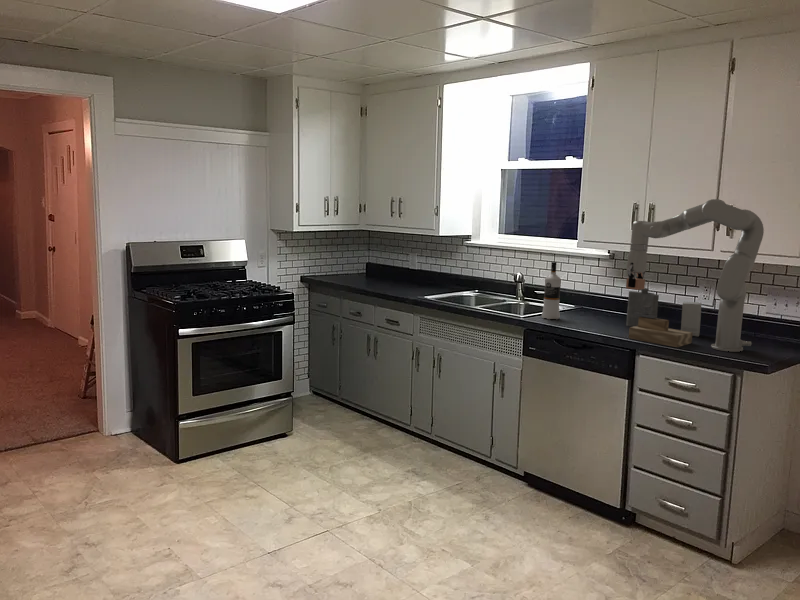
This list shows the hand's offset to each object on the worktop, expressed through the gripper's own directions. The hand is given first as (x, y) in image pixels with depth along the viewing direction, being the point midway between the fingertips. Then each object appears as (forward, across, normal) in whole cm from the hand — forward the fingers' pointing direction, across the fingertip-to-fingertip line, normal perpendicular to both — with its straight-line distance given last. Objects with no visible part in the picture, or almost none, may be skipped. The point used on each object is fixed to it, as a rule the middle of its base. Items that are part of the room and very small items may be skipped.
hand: (635, 286), depth 316 cm
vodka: (+24, -6, -49) cm, 55 cm away
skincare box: (+23, -26, +16) cm, 38 cm away
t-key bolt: (+13, 0, +6) cm, 15 cm away
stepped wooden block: (+23, 0, +14) cm, 27 cm away
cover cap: (+1, 0, 0) cm, 1 cm away
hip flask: (+24, -23, -7) cm, 33 cm away
